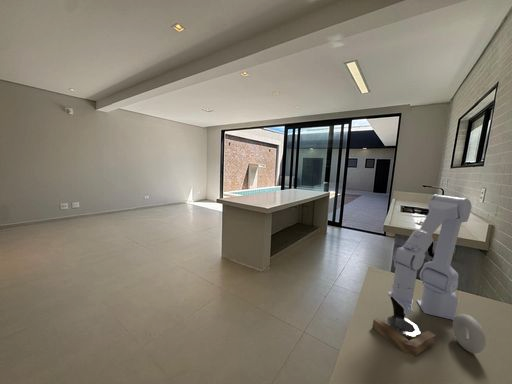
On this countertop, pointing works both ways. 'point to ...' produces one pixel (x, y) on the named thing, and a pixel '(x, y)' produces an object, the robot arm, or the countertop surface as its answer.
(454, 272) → the robot arm
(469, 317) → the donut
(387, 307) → the countertop surface
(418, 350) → the vee stop
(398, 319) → the ring
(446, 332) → the countertop surface
